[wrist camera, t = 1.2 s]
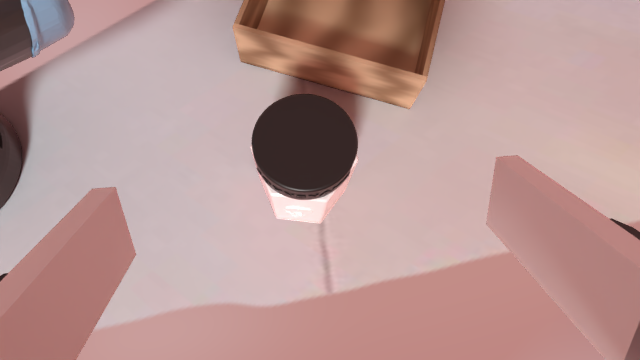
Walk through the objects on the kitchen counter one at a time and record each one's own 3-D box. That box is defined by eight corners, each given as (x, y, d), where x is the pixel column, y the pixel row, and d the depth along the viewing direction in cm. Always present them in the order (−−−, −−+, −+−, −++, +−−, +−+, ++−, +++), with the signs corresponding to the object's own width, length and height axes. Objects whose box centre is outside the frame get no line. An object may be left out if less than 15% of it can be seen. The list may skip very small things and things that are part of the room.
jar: (254, 218, 40) (237, 185, 29) (266, 144, 42) (254, 86, 31) (341, 228, 40) (359, 199, 29) (348, 153, 43) (367, 100, 31)
